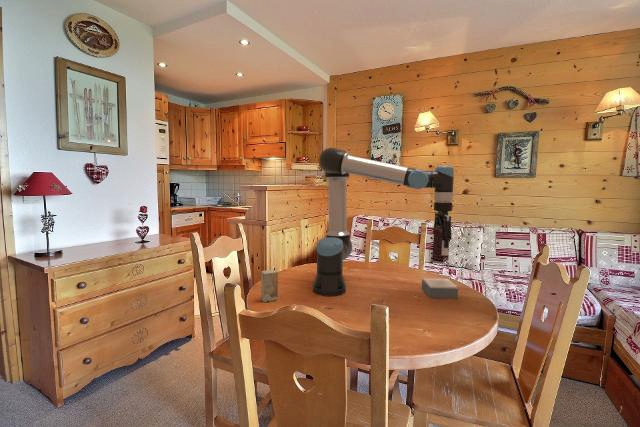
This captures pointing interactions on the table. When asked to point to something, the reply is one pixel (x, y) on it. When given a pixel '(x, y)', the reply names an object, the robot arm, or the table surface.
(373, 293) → the table surface
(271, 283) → the skincare box
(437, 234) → the supplement box
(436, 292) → the platform
